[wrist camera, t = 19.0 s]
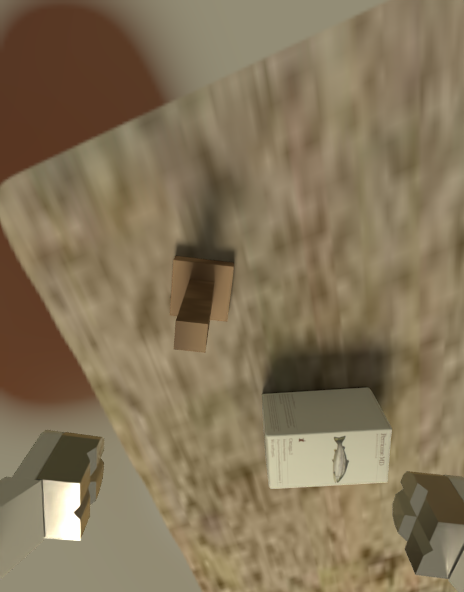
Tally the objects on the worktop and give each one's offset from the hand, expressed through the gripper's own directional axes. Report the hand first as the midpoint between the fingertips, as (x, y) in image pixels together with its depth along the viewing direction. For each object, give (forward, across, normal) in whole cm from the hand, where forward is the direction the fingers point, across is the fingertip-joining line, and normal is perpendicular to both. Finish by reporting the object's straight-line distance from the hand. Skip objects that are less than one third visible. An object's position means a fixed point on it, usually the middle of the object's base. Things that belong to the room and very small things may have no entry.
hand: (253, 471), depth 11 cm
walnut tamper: (+31, +3, +6) cm, 32 cm away
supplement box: (+27, -6, +22) cm, 36 cm away
